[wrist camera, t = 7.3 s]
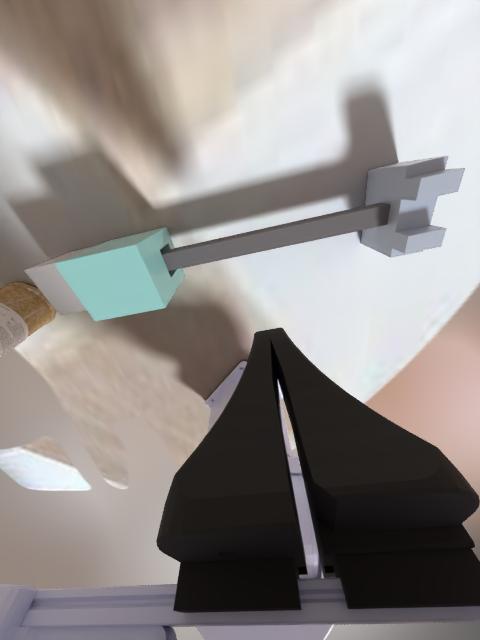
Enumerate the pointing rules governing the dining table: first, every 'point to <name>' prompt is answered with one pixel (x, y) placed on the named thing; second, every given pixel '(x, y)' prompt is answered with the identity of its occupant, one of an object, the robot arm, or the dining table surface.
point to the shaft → (278, 236)
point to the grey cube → (56, 285)
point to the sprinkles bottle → (21, 314)
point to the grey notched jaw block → (409, 204)
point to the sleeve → (123, 275)
